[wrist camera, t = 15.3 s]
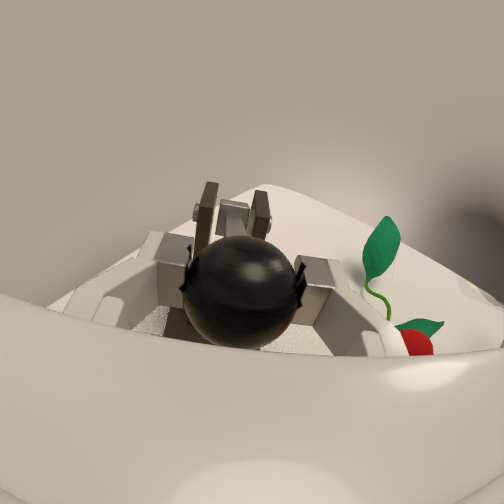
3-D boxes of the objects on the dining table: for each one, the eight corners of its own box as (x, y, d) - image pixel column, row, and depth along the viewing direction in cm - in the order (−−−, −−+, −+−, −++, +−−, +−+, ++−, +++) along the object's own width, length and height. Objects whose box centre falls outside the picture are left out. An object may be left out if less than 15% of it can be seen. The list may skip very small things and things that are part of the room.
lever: (293, 378, 8) (328, 266, 7) (170, 365, 8) (181, 243, 7) (249, 239, 24) (257, 197, 24) (206, 233, 24) (214, 190, 23)
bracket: (257, 364, 26) (305, 246, 18) (161, 351, 25) (160, 222, 17) (255, 291, 34) (286, 183, 26) (178, 280, 33) (188, 166, 25)
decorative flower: (426, 290, 42) (455, 243, 36) (425, 458, 19) (497, 413, 13) (355, 256, 45) (379, 204, 39) (304, 419, 22) (358, 362, 16)
